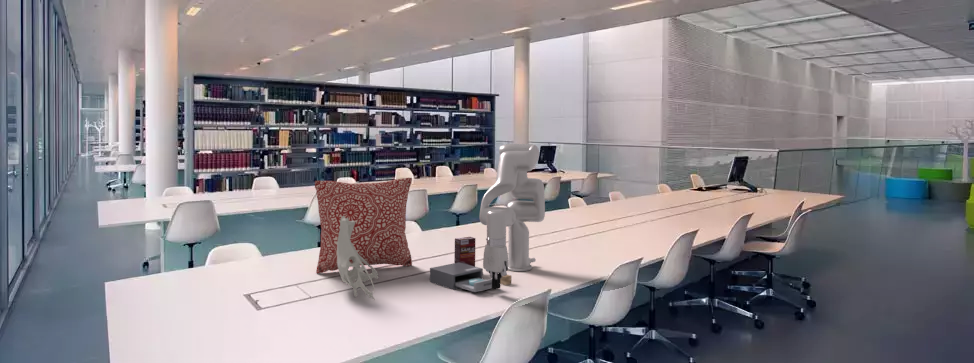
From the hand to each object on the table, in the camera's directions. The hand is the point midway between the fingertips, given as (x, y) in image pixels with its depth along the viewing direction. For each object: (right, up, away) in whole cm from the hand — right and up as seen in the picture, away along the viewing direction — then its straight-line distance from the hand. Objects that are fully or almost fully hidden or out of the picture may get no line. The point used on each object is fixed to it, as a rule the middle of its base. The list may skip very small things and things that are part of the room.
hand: (496, 288), depth 227 cm
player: (-16, -1, +17) cm, 23 cm away
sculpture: (-54, -2, +4) cm, 54 cm away
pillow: (-59, +1, +40) cm, 71 cm away
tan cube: (+4, -1, +16) cm, 17 cm away
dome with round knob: (-8, 0, +9) cm, 12 cm away
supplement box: (-13, 0, +34) cm, 37 cm away
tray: (-8, -1, +9) cm, 12 cm away
